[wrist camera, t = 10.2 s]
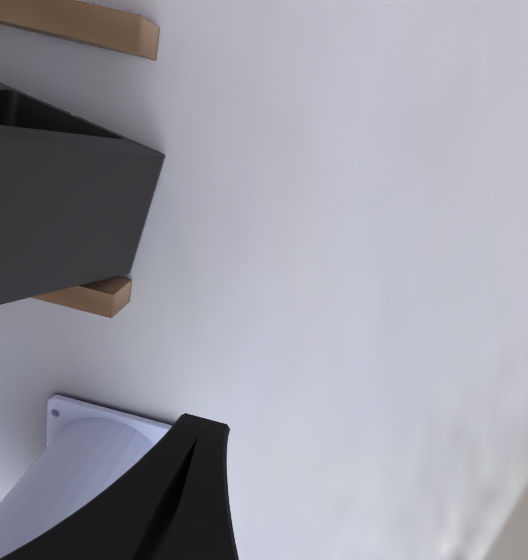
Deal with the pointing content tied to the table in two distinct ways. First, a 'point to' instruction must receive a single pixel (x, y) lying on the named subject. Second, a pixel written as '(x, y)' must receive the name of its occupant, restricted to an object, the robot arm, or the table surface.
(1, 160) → the phone stand
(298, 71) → the table surface
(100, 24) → the walnut bracket
